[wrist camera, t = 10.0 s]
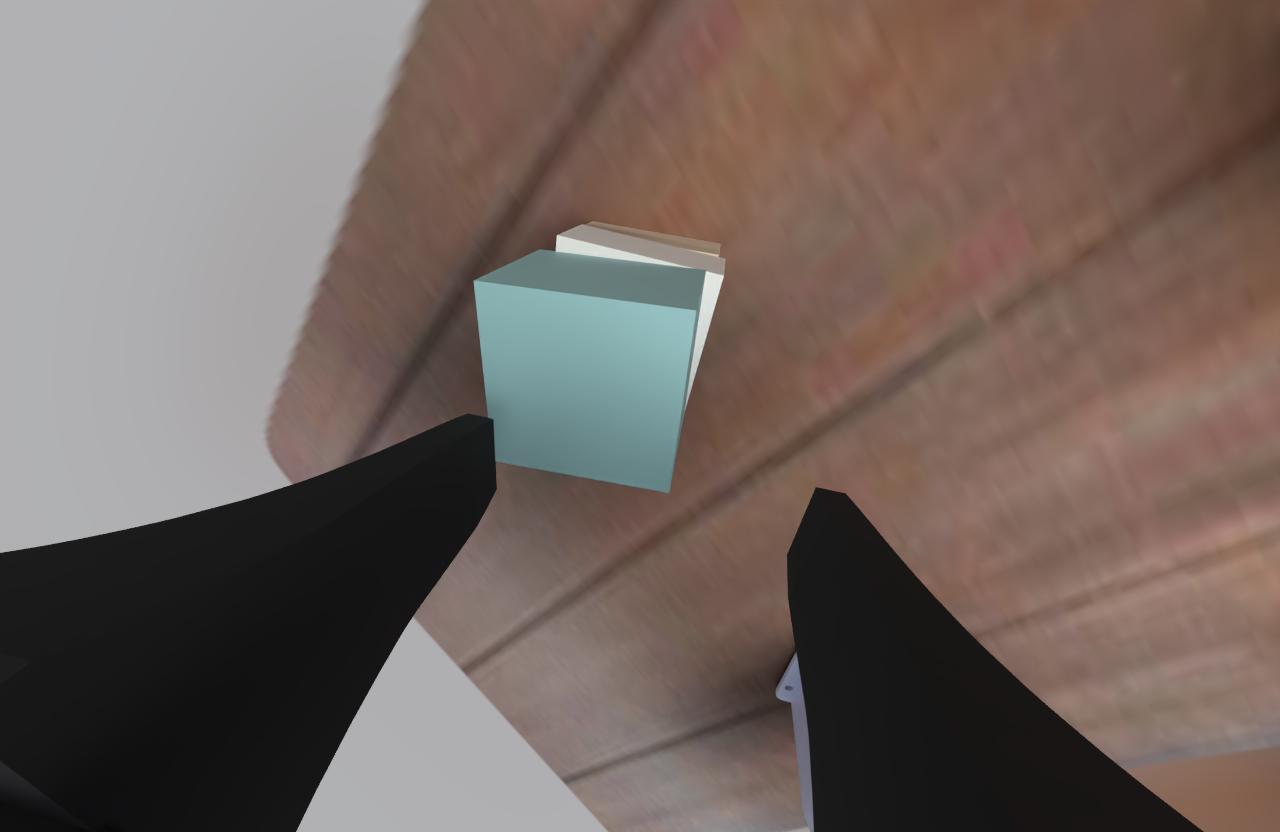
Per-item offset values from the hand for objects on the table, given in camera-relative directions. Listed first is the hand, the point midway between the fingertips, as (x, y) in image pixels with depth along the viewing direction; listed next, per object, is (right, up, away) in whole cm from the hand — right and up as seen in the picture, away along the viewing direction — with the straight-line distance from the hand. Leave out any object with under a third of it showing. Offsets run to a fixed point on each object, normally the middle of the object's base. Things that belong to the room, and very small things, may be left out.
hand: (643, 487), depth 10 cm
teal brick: (-1, +4, +4) cm, 6 cm away
